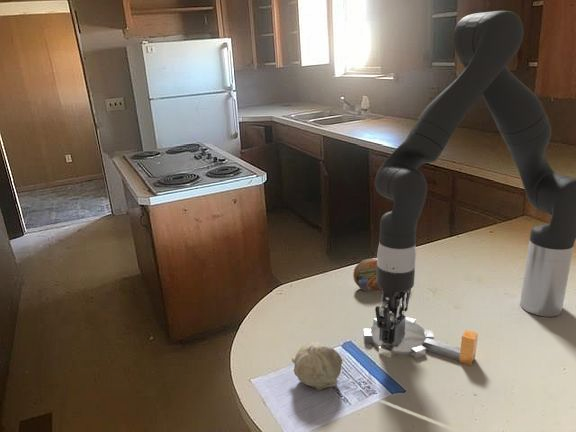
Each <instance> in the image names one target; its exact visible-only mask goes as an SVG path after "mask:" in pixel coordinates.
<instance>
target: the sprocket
mask: <svg viewBox="0 0 576 432" xmlns="http://www.w3.org/2000/svg"><path fill="white" fill-rule="evenodd" d="M379 332H380V328H378V325H377V318H375V317H374V318H373V321H372V326H371V327H370V328H363V342H364V344H371V345H372V347H376V348H377V349H378V355H381V356H384V357H388V359H389V358H392V357H393V355H396V356H397V355H398V356H410V355H411V356H412V357H413V358H414V359H418V358H421V357H423V356H426V354H427V350H426V348H425V347H424V341H425V340H426V338H429V339H432V340H435V336H434V333H433V330H431V329H424V327H422V326H421V325H419V324H417V319H416V318H413V317H408V316H406V319H405V334H404V338H403V339H402V340H401V342H400V343H399V344H398V345H397V346H396V345H393V344H387V343H384V342H383V341H380V340H379Z"/></svg>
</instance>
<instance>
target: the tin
mask: <svg viewBox="0 0 576 432" xmlns="http://www.w3.org/2000/svg"><path fill="white" fill-rule="evenodd" d="M352 274H353V281H354V283H355V284H356V285H357V287H359V289H360V290H362V291H364V292H372V291H378V290H382V288H380V287H379V286H378V285H377V282H376V276H377V257H373V258H367V259H363V260H361V261H359V263H358V264H356V266H355V267H354V269H353V273H352Z"/></svg>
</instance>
